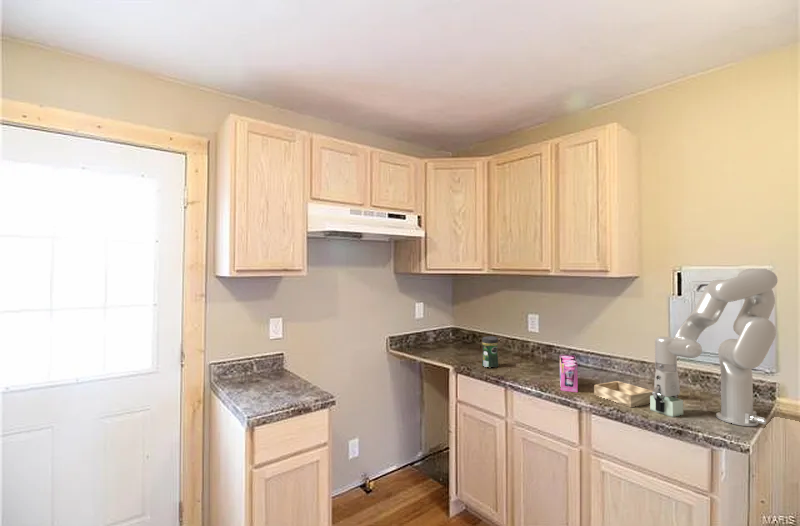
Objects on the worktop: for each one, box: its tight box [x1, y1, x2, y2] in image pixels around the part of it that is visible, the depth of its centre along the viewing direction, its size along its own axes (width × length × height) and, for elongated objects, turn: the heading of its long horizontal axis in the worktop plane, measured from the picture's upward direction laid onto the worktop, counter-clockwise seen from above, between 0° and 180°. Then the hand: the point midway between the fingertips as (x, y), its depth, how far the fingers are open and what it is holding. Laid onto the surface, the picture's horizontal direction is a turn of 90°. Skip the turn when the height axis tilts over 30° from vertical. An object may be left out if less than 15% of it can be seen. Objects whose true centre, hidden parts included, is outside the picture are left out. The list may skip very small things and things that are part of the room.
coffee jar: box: [481, 335, 499, 368], centre depth 239 cm, size 10×8×19 cm
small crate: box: [649, 395, 684, 418], centre depth 162 cm, size 9×7×6 cm
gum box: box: [559, 354, 579, 393], centre depth 200 cm, size 24×8×14 cm, turn 159°
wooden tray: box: [593, 380, 654, 408], centre depth 179 cm, size 18×16×5 cm
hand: (666, 409), depth 162 cm, fingers open, 7 cm apart
